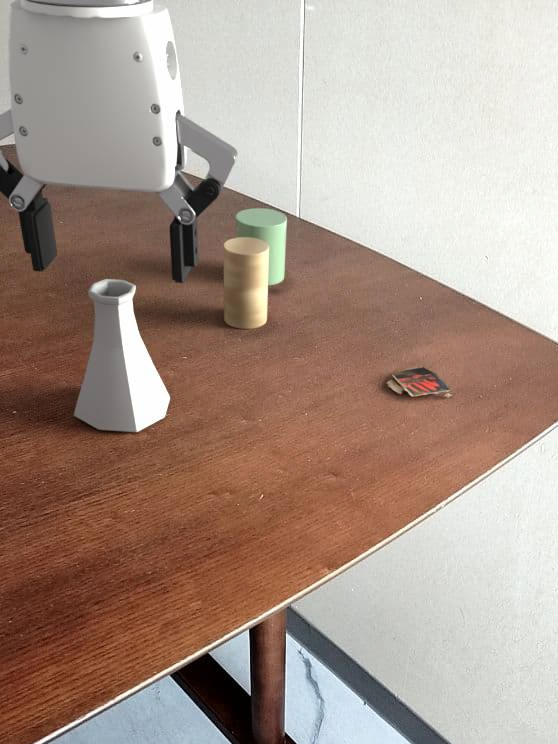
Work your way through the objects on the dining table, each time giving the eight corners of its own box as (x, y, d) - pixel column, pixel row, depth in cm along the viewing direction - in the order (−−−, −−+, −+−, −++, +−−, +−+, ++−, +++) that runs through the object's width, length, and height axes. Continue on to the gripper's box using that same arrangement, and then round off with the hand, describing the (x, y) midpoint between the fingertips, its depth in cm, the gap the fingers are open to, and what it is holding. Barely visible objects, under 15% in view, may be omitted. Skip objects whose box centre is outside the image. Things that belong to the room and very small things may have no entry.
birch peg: (220, 326, 79) (220, 252, 75) (227, 307, 82) (227, 235, 78) (263, 330, 79) (265, 256, 75) (269, 311, 82) (271, 239, 78)
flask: (142, 444, 64) (132, 319, 58) (57, 421, 66) (38, 297, 59) (185, 398, 69) (181, 278, 63) (106, 378, 71) (93, 260, 65)
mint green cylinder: (231, 283, 86) (232, 223, 83) (239, 264, 90) (240, 205, 86) (281, 288, 86) (283, 228, 82) (287, 268, 90) (289, 210, 86)
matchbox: (419, 366, 75) (420, 361, 75) (460, 393, 72) (461, 388, 72) (378, 380, 73) (379, 375, 73) (418, 408, 70) (419, 403, 70)
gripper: (245, -21, 52) (245, 259, 63) (-38, -40, 52) (11, 240, 63) (224, -3, 46) (228, 302, 57) (-93, -24, 47) (-29, 281, 58)
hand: (113, 269), depth 60 cm, fingers open, 9 cm apart
